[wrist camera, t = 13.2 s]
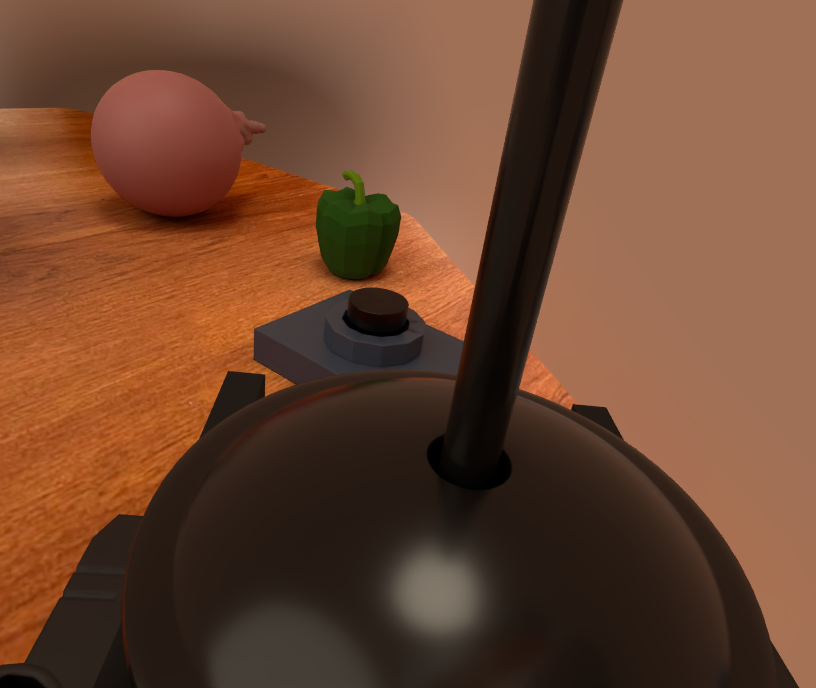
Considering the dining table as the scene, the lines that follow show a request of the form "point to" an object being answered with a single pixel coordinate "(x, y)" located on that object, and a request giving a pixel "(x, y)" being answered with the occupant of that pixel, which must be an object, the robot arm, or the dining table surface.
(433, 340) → the plate
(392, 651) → the drinking cup
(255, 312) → the dining table surface
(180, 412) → the dining table surface
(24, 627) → the dining table surface
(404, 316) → the button
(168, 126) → the balloon
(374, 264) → the bell pepper
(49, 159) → the dining table surface
